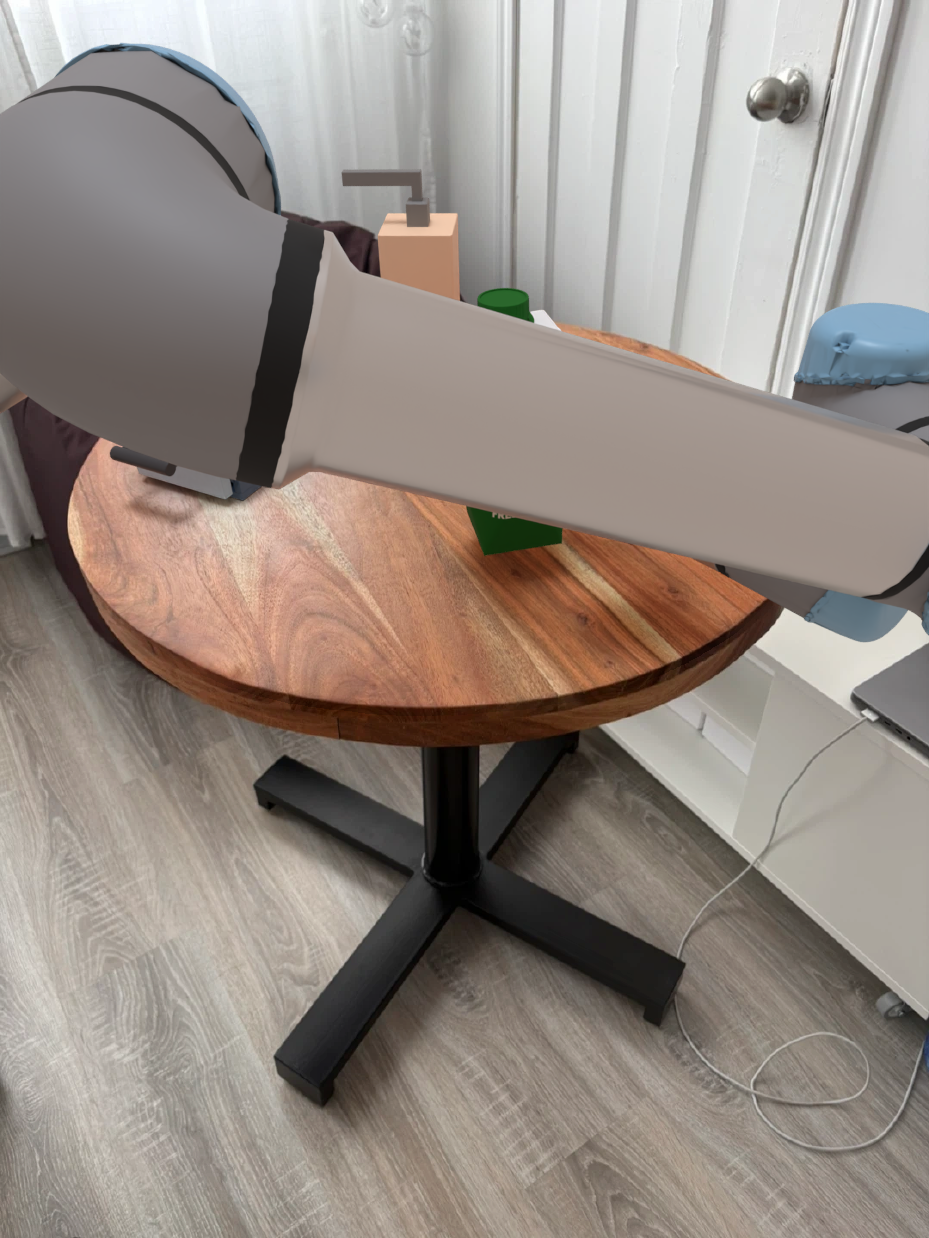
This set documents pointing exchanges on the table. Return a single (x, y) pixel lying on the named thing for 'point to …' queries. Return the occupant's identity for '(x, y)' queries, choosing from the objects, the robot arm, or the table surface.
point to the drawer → (173, 473)
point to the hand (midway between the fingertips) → (477, 397)
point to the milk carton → (493, 527)
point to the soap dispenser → (414, 236)
